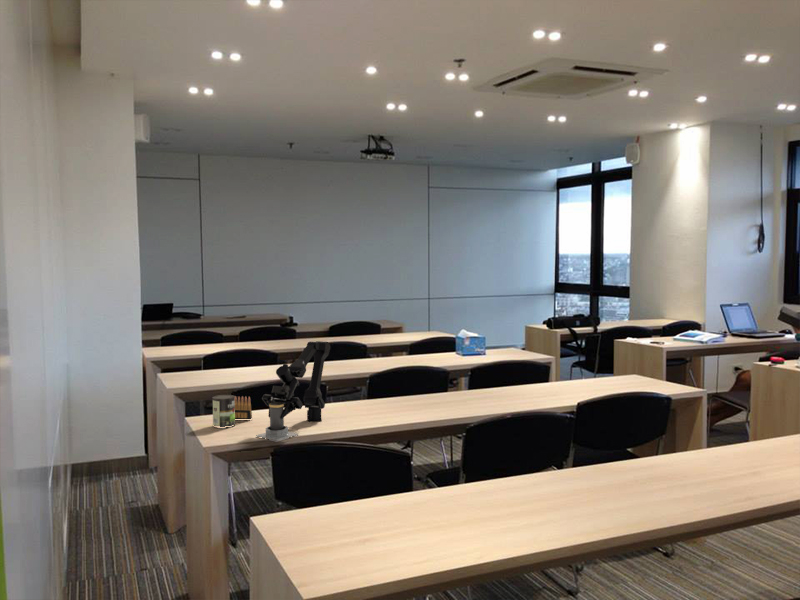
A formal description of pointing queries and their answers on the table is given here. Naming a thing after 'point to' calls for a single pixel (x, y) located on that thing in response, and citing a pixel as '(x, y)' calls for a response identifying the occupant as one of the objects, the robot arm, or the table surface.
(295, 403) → the robot arm
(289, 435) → the duct collar
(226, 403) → the coffee can
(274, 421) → the grey cylindrical piece
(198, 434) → the table surface
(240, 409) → the ammunition clip
